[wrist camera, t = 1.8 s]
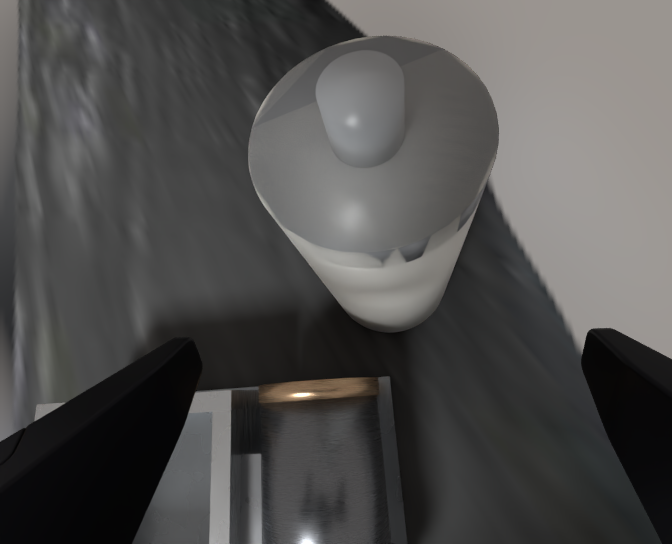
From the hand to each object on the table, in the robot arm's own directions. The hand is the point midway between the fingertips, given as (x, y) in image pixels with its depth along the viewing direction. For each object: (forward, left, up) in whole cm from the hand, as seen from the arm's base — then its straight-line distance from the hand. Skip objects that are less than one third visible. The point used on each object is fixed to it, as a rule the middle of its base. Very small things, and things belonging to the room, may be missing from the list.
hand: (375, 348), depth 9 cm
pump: (+5, 0, -11) cm, 12 cm away
